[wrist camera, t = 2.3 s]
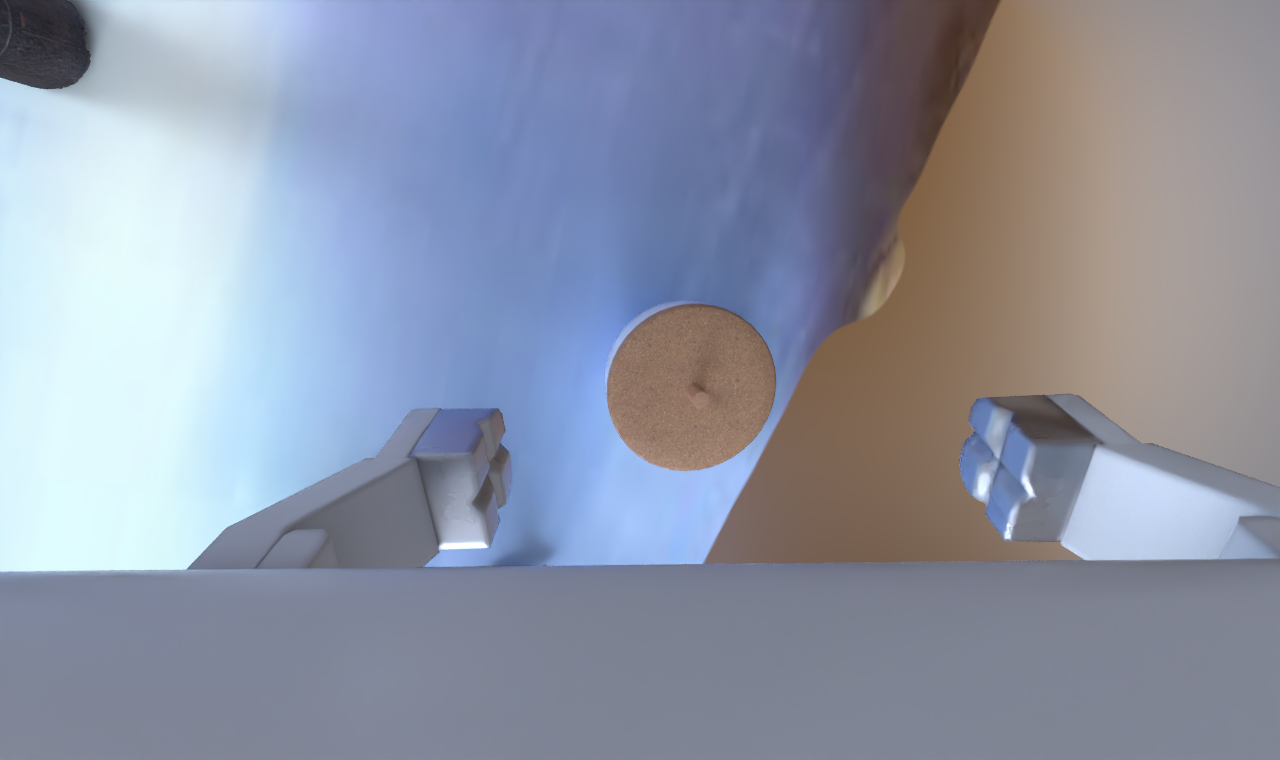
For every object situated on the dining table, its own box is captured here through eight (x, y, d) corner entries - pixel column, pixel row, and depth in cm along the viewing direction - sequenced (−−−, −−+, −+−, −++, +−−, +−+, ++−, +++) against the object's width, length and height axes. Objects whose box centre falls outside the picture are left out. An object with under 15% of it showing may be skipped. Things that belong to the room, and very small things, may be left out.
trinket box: (739, 420, 47) (787, 470, 38) (601, 437, 45) (618, 494, 36) (736, 281, 44) (788, 301, 35) (588, 295, 42) (603, 319, 33)
